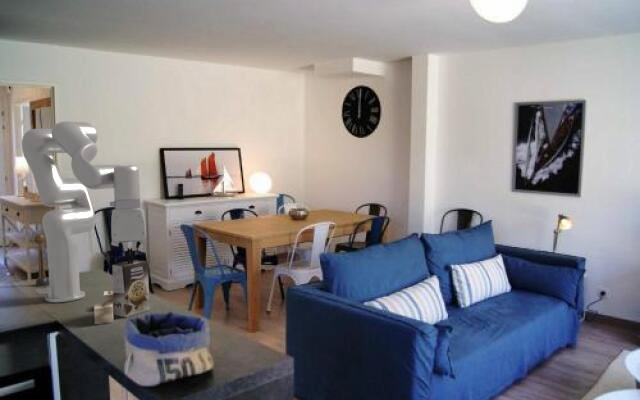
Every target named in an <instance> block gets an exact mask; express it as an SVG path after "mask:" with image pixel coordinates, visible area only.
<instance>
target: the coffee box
mask: <svg viewBox="0 0 640 400" xmlns="http://www.w3.org/2000/svg"><path fill="white" fill-rule="evenodd" d="M149 287H150V286H149V263H148V261H147V260H137V259H135V260H133V263H131V260H130V264H128V261H125V262H120V263H114V264H112V289H113V290H112V291H113V297H114V309H113V315H115V316H119V317H121V318H130V317H133V316H137V315H139V314H141V313H145V312H149V311H150V289H149Z"/></svg>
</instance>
